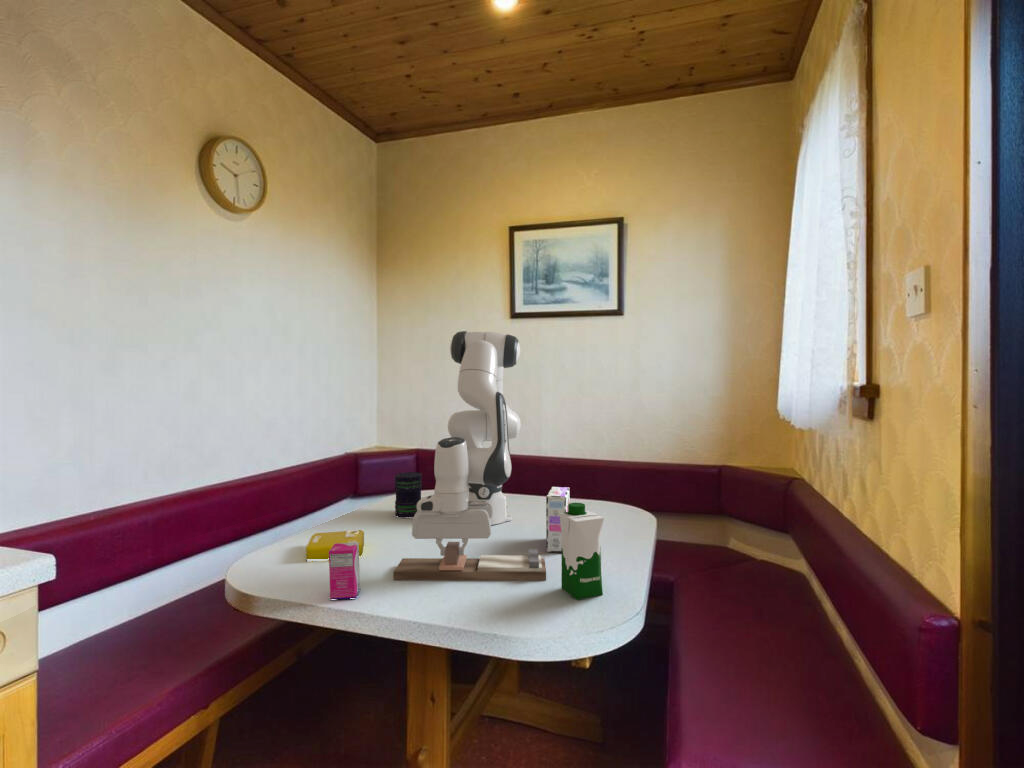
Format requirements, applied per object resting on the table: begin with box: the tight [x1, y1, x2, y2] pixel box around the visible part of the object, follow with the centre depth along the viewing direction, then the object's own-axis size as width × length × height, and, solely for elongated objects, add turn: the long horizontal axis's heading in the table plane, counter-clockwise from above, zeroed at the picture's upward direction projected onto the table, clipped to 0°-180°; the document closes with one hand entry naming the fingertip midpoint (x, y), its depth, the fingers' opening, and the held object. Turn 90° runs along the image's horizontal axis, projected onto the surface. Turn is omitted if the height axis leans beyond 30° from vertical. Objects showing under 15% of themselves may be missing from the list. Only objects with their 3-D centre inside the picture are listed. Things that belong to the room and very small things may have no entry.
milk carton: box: [559, 502, 605, 601], centre depth 122 cm, size 9×9×20 cm
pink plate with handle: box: [439, 541, 468, 570], centre depth 134 cm, size 9×6×5 cm, turn 179°
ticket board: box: [392, 548, 547, 581], centre depth 134 cm, size 10×38×5 cm, turn 89°
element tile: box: [305, 529, 365, 559], centre depth 152 cm, size 15×15×5 cm
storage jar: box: [394, 471, 423, 518], centre depth 193 cm, size 10×10×15 cm
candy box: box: [545, 486, 571, 554], centre depth 156 cm, size 14×6×16 cm, turn 168°
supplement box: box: [328, 542, 361, 599], centre depth 121 cm, size 6×6×12 cm
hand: (452, 554), depth 134 cm, fingers closed on pink plate with handle, 3 cm apart
